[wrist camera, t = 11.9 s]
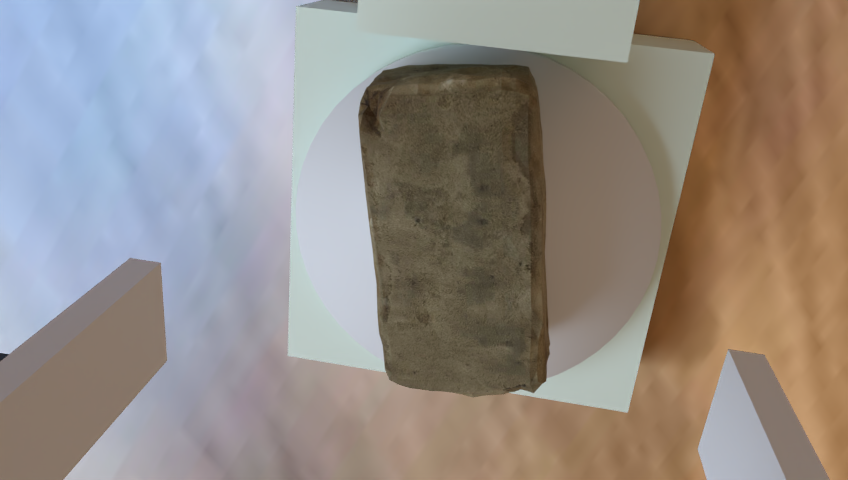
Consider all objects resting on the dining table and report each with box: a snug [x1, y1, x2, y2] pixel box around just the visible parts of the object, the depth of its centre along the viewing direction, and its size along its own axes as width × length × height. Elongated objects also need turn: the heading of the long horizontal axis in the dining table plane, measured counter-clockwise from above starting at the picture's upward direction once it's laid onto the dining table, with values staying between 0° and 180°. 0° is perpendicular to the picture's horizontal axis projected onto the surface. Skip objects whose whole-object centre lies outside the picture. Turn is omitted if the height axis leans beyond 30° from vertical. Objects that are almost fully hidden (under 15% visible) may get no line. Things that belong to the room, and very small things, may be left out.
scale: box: [288, 0, 715, 413], centre depth 28 cm, size 18×15×9 cm
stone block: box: [358, 64, 550, 397], centre depth 25 cm, size 6×12×5 cm, turn 6°
